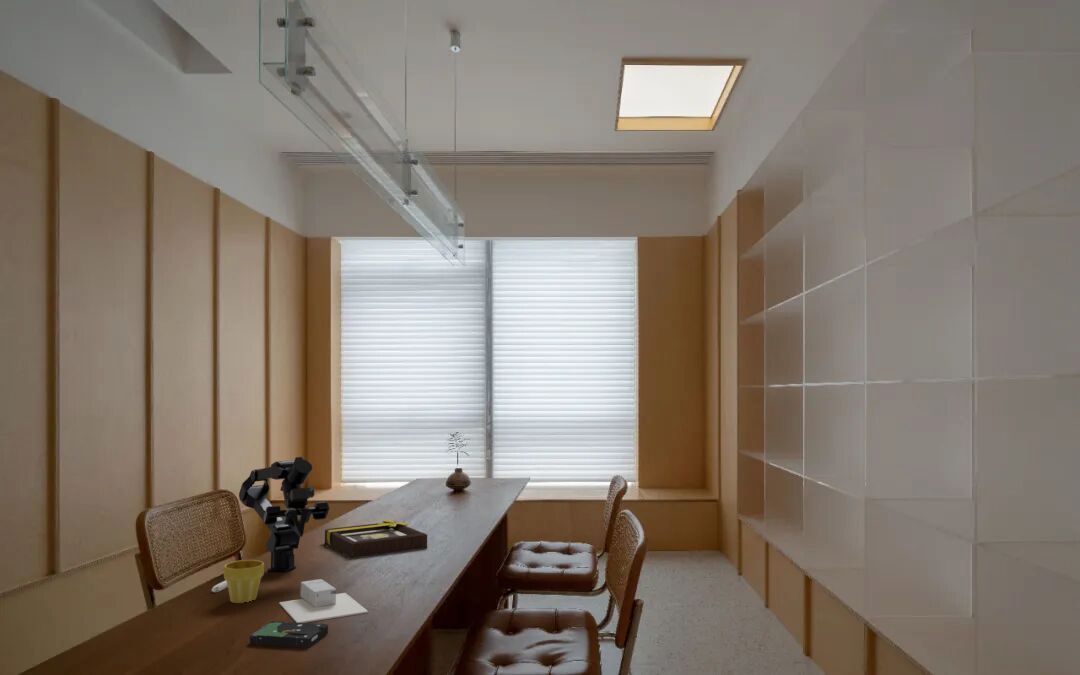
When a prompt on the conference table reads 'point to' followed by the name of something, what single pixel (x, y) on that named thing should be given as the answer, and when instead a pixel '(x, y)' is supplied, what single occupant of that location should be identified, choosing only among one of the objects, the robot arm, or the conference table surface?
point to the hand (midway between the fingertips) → (301, 535)
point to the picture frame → (375, 539)
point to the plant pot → (243, 579)
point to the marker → (220, 586)
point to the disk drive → (289, 634)
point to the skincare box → (318, 593)
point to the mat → (322, 609)
